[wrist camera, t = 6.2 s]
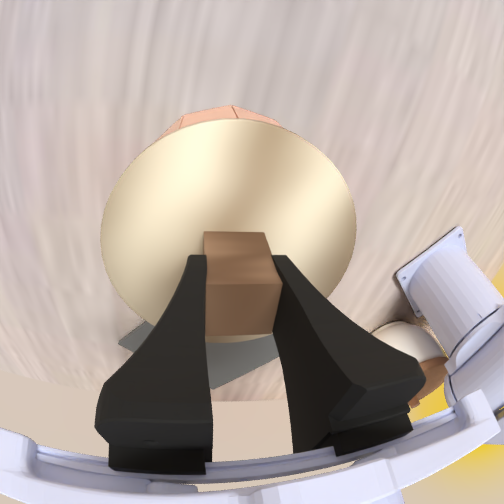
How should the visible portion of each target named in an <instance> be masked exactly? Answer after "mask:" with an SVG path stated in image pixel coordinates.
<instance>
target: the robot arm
mask: <svg viewBox="0 0 504 504" xmlns="http://www.w3.org/2000/svg"><path fill="white" fill-rule="evenodd" d="M271 257H272V259H273V262H274V265H275V268H276V271H277V273H278V275H279V277H280V279H281V281H282V283H283V284H282V289H281V294H280V298H279V303H278V307H277V312H276V316H275V321H274V325H273V330H272V333H273V336H274V340H275V343H276V346H277V350H278V353H279V357H280V361H281V365H282V369H283V375H284V381H285V387H286V393H287V400H288V407H289V415H290V423H291V432H292V443H293V454H289V455H283V456H276V457H269V458H260V459H250V460H240V461H226V462H212V448H213V415H212V404H211V395H210V387H209V377H208V367H207V356H206V343H205V310H206V279H207V256H206V255H192V254H191V255H189V256H188V258H187V263H186V266H185V269H184V272H183V275H182V277H181V280H180V282H179V284H178V286H177V288H176V291H175V293H174V295H173V297H172V298H171V300H170V302H169V304H168V306H167V308H166V309H165V311H164V313H163V314H162V316H161V318H160V319H159V321H158V322H157V324H156V325H155V327H154V328H153V329H152V331H151V332H150V334H149V335H148V336H147V338H146V339H145V340H144V342H143V343H142V344H141V345H140V347H139V348H138V349H137V350H136V351H135V352H134V353H133V355H132V356H131V357H130V358H129V359H128V360H127V361H126V362H125V363H124V365H123V366H122V367H121V368H120V369H118V370H117V371H116V372H115V373H114V374H113V375H112V376H111V377H110V378H109V379H108V380H107V381H106V382H105V383H104V385H103V387H102V390H101V393H100V396H99V399H98V403H97V407H96V416H95V429H96V430H97V432H98V433H99V434H100V435H101V436H102V437H103V438H104V439H105V440H106V441H107V442H108V443H109V458H106V457H99V456H92V455H86V454H80V453H74V452H69V451H64V450H60V449H55V448H50V447H46V446H42V445H38V444H36V443H35V442H34V441H33V440H32V439H30V438H29V437H27V436H25V435H22V434H20V433H16V432H13V431H10V430H6V429H3V428H0V493H1V494H4V495H6V496H8V497H11V498H13V499H16V500H19V501H21V502H24V503H27V504H404V499H403V496H402V493H401V490H400V489H402V488H404V487H407V486H409V485H411V484H413V483H415V482H417V481H420V480H422V479H424V478H425V477H428V476H430V475H431V474H433V473H435V472H437V471H439V470H441V469H443V468H444V467H446V466H448V465H450V464H452V463H453V462H455V461H457V460H458V459H460V458H462V457H463V456H465V455H466V454H468V453H469V452H471V451H473V450H474V449H476V448H477V447H479V446H480V445H482V444H501V445H502V444H503V445H504V408H503V409H501V408H502V407H503V406H504V298H503V297H502V296H501V294H500V293H499V292H498V290H497V289H496V288H495V287H494V285H493V284H492V283H491V282H490V280H489V279H488V278H487V277H486V276H485V274H484V273H483V272H482V271H481V270H480V268H479V267H478V266H477V265H476V264H475V263H474V261H473V260H472V259H471V258H470V257H469V256H468V255H467V250H466V244H465V239H464V234H463V229H462V228H461V227H460V226H457V227H456V228H455V229H453V230H452V231H451V232H450V233H448V234H447V235H446V236H445V237H443V238H442V239H441V240H439V241H438V242H437V243H436V244H434V245H433V246H432V247H430V248H429V249H428V250H426V251H425V252H424V253H422V254H421V255H420V256H418V257H417V258H416V259H414V260H413V261H411V262H410V263H409V264H407V265H406V266H405V267H403V268H402V269H400V270H399V271H398V272H397V273H396V277H397V279H398V281H399V283H400V285H401V287H402V289H403V291H404V293H405V295H406V297H407V299H408V301H409V303H410V305H411V307H412V309H413V311H414V313H415V315H416V317H421V316H422V315H424V317H425V319H426V320H427V322H428V324H429V325H430V327H431V329H432V330H433V332H434V334H435V335H436V337H437V339H438V340H439V342H440V344H441V346H442V347H443V349H444V351H445V353H446V354H447V356H448V358H449V360H448V361H447V362H446V363H445V364H444V365H445V367H446V369H447V371H448V373H447V374H446V376H445V379H444V394H445V399H446V402H447V404H448V406H449V408H447V409H445V410H443V411H440V412H438V413H436V414H433V415H431V416H428V417H426V418H423V419H421V420H418V421H415V422H413V423H411V422H410V420H409V417H408V415H407V413H409V412H410V408H409V405H408V402H409V401H410V400H411V399H412V398H413V397H414V396H415V395H416V394H417V393H418V392H419V391H420V390H421V389H422V388H423V387H424V385H425V383H426V376H425V374H424V372H423V370H422V368H421V366H420V364H419V362H418V360H417V359H416V358H415V357H413V356H410V355H408V354H406V353H404V352H402V351H400V350H398V349H396V348H394V347H392V346H390V345H388V344H386V343H385V342H383V341H381V340H379V339H378V338H376V337H375V336H373V335H371V334H370V333H368V332H367V331H366V330H364V329H363V328H361V327H360V326H358V325H357V324H356V323H354V322H353V321H352V320H350V319H349V318H348V317H347V316H345V315H344V314H343V313H342V312H340V311H339V310H338V309H337V308H336V307H335V306H334V305H332V304H331V303H330V302H329V301H328V300H327V299H326V298H325V297H324V296H323V295H322V294H321V293H320V292H319V291H318V290H317V289H316V288H315V287H314V286H313V285H312V284H311V283H310V281H309V280H308V279H307V278H306V277H305V276H304V275H303V274H302V272H301V271H300V270H299V269H298V268H297V267H296V266H295V264H294V263H293V262H292V261H291V260H290V259H289V258H288V256H287V255H271ZM499 409H501V410H499ZM361 458H362V459H361ZM358 459H359V460H358ZM354 460H357V461H355V462H354V463H353V465H351V466H350V467H347V468H344V469H340V470H336V471H332V472H328V473H323V474H319V475H314V476H310V477H305V478H299V479H294V480H289V481H284V482H278V483H272V484H266V485H260V486H253V487H247V488H239V489H231V490H221V491H209V492H198V489H197V487H196V486H195V485H185V484H208V483H228V482H241V481H251V480H260V479H268V478H275V477H282V476H288V475H294V474H299V473H305V472H309V471H314V470H319V469H323V468H328V467H332V466H336V465H340V464H344V463H347V462H351V461H354Z"/></svg>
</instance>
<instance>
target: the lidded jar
mask: <svg viewBox="0 0 504 504" xmlns="http://www.w3.org/2000/svg"><path fill="white" fill-rule="evenodd" d="M371 335H373V336H375V337H376V338H378V339H379V340H381V341H383V342H385V343H386V344H388V345H390V346H392V347H394V348H396V349H398V350H400V351H402V352H404V353H406V354H408V355H410V356H413V357H415V358H416V359H417V360H418V362H419V364H420V366H421V368H422V370H423V372H424V374H425V376H426V383H425V385H424V387H423V388H422V389H421V390H420V391H419V392H418V393H417V394H416V395H415V396H414V397H413V398H412V399H411V400H410V401H409V402H408V405H410V406H411V408H414V407H417V406H418V405H419V404H420V403H419V400H420V399H422V398H424V397H425V396H427V395H428V394H430V393H431V392H433V391H434V390H435V389H437V388H438V387H439V386H440V385H441V384H442V383H443V382H444V379H445V376H446V374H447V373H448V371H447V369H446V367H445V365H444V364H445V363H446V362H447V361H448V360H449V358H447V356H446V354H445V352H444V350H443V349H442V347H441V345H440V344H439V343H438V341H437V340H436V339H435V338H434V337H433V336H432V334H431V333H430V332H428V331H427V330H425V329H424V328H422V327H420V326H417V325H413V324H407V323H406V322H404V321H396V322H392V323H389V324H386V325H384V326H382V327H380V328H378V329H377V330H375V331H374V332H373V333H371Z"/></svg>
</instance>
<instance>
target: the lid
mask: <svg viewBox="0 0 504 504" xmlns="http://www.w3.org/2000/svg"><path fill="white" fill-rule="evenodd" d="M355 239H356V214H355V208H354V203H353V200H352V197H351V194H350V191H349V189H348V186H347V185H346V183H345V181H344V179H343V177H342V175H341V174H340V172H339V171H338V170H337V169H336V167H335V166H334V165H333V163H332V162H331V161H330V160H329V159H328V158H327V157H326V156H325V155H324V154H323V153H322V152H321V151H319V150H318V149H317V148H316V147H315V146H313V145H312V144H311V143H309V142H308V141H306V140H305V139H303V138H302V137H300V136H299V135H297V134H295V133H293V132H291V131H289V130H287V129H284V128H282V127H280V126H277V125H273V124H270V123H267V122H263V121H258V120H251V119H244V118H221V119H214V120H208V121H202V122H198V123H195V124H192V125H188V126H185V127H182V128H180V129H178V130H176V131H174V132H171V133H169V134H167V135H165V136H164V137H162V138H160V139H159V140H157V141H156V142H154V143H153V144H151V145H150V146H149V147H147V148H146V149H145V150H144V151H143V152H142V153H141V154H140V155H139V156H137V157H136V158H135V159H134V161H133V162H132V163H131V164H130V165H129V167H128V168H127V169H126V170H125V172H124V173H123V174H122V176H121V177H120V179H119V180H118V182H117V184H116V185H115V187H114V189H113V191H112V192H111V194H110V197H109V199H108V202H107V204H106V207H105V210H104V214H103V219H102V224H101V238H100V243H101V252H102V258H103V262H104V265H105V269H106V272H107V274H108V276H109V279H110V281H111V283H112V285H113V286H114V288H115V290H116V291H117V293H118V294H119V296H120V297H121V298H122V299H123V300H124V302H125V303H126V304H127V305H128V306H129V307H130V308H131V309H132V310H133V311H134V312H135V313H136V314H137V315H139V316H140V317H141V318H143V319H144V320H146V321H147V322H148V323H150V324H152V325H154V326H155V325H156V324H157V322H158V321H159V319H160V318H161V316H162V314H163V313H164V311H165V309H166V308H167V306H168V304H169V302H170V300H171V298H172V297H173V295H174V293H175V291H176V288H177V286H178V284H179V282H180V280H181V277H182V275H183V272H184V269H185V266H186V263H187V258H188V256H189V255H191V254H192V255H206V256H207V279H206V310H205V342H210V343H232V342H242V341H248V340H253V339H257V338H261V337H265V336H268V335H271V334H273V333H272V330H273V325H274V321H275V316H276V312H277V307H278V303H279V298H280V294H281V289H282V284H283V283H282V281H281V279H280V277H279V275H278V273H277V271H276V268H275V265H274V262H273V259H272V257H271V255H287V256H288V258H289V259H290V260H291V261H292V262H293V263H294V264H295V266H296V267H297V268H298V269H299V270H300V271H301V272H302V274H303V275H304V276H305V277H306V278H307V279H308V280H309V281H310V283H311V284H312V285H313V286H314V287H315V288H316V289H317V290H318V291H319V292H320V293H321V294H322V295H323V296H324V297H325V298H326V299H327V297H328V296H329V295H330V294H331V293H332V292H333V290H334V289H335V288H336V286H337V285H338V284H339V282H340V281H341V279H342V277H343V275H344V273H345V272H346V270H347V267H348V265H349V262H350V260H351V257H352V254H353V250H354V246H355Z"/></svg>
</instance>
